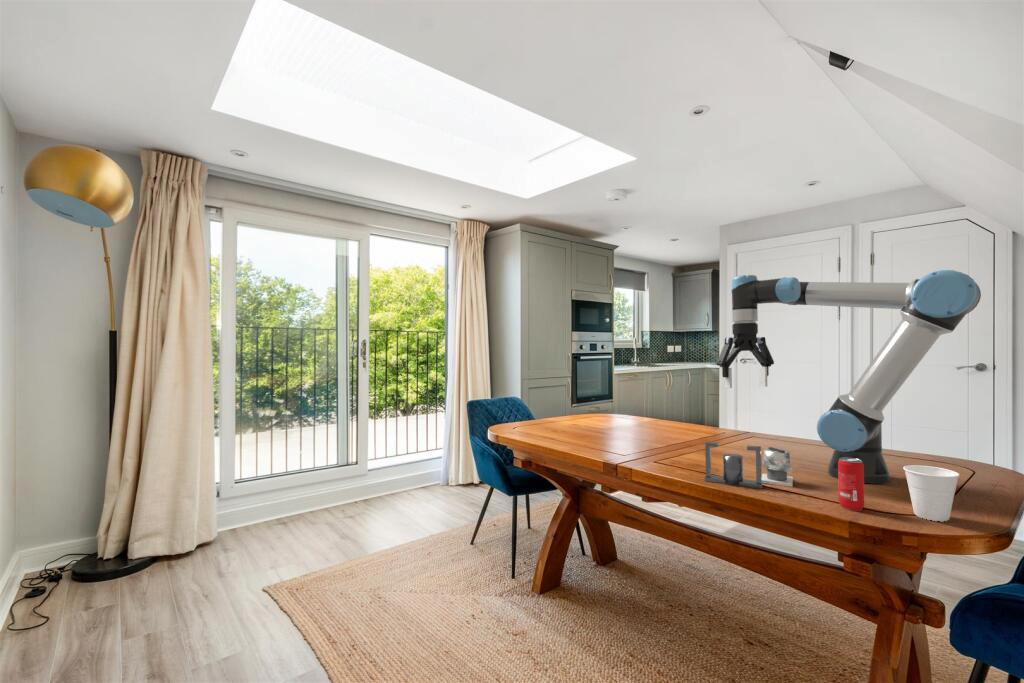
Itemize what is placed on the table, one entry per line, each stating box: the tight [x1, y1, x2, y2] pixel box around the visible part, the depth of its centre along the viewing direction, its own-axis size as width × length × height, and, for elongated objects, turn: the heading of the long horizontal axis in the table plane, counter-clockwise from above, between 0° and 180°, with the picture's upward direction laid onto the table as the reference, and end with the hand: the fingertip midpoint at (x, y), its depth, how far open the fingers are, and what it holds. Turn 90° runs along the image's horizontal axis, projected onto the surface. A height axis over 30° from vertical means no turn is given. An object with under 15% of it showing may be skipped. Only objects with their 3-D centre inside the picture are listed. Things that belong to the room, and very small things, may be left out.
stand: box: [762, 468, 794, 488], centre depth 139 cm, size 8×8×4 cm
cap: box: [761, 446, 794, 474], centre depth 139 cm, size 11×7×6 cm, turn 13°
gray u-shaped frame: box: [704, 441, 764, 489], centre depth 138 cm, size 15×5×11 cm, turn 58°
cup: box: [902, 464, 961, 523], centre depth 110 cm, size 10×10×11 cm
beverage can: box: [837, 457, 865, 512], centre depth 117 cm, size 5×5×12 cm
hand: (745, 387), depth 154 cm, fingers open, 13 cm apart
